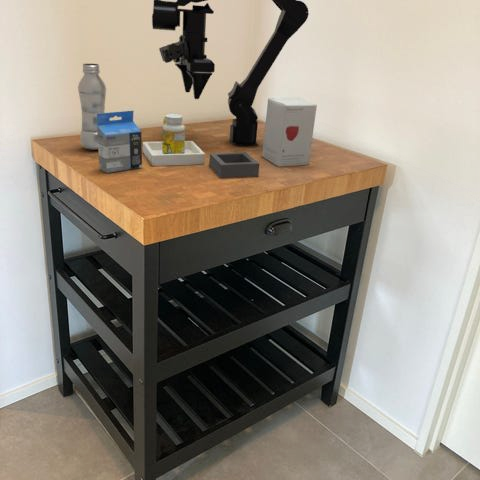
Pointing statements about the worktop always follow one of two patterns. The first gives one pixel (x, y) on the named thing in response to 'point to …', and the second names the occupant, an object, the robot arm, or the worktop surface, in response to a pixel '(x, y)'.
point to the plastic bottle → (91, 104)
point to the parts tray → (173, 155)
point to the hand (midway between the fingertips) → (191, 95)
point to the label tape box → (118, 142)
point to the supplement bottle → (173, 135)
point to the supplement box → (288, 131)
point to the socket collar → (233, 165)
